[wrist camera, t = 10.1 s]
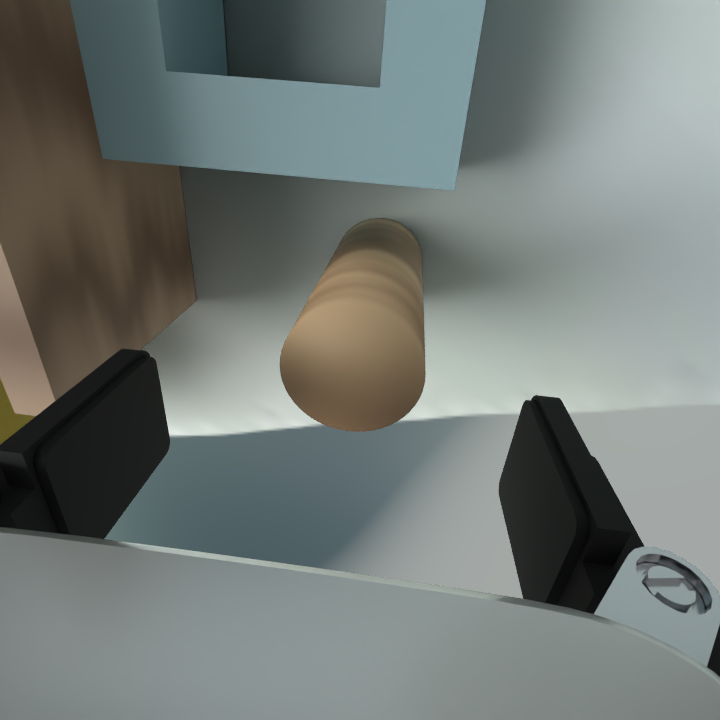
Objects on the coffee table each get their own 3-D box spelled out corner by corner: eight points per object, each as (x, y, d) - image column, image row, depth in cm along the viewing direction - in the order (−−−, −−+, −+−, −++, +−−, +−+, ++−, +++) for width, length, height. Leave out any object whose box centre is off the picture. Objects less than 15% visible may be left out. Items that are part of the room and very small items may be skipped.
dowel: (338, 213, 20) (277, 298, 11) (427, 222, 20) (435, 315, 11) (335, 296, 22) (281, 422, 13) (416, 305, 22) (414, 439, 13)
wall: (59, -350, 13) (-697, -1309, 4) (112, -350, 13) (-548, -1331, 4) (166, 297, 23) (14, 413, 14) (196, 300, 23) (61, 419, 14)
